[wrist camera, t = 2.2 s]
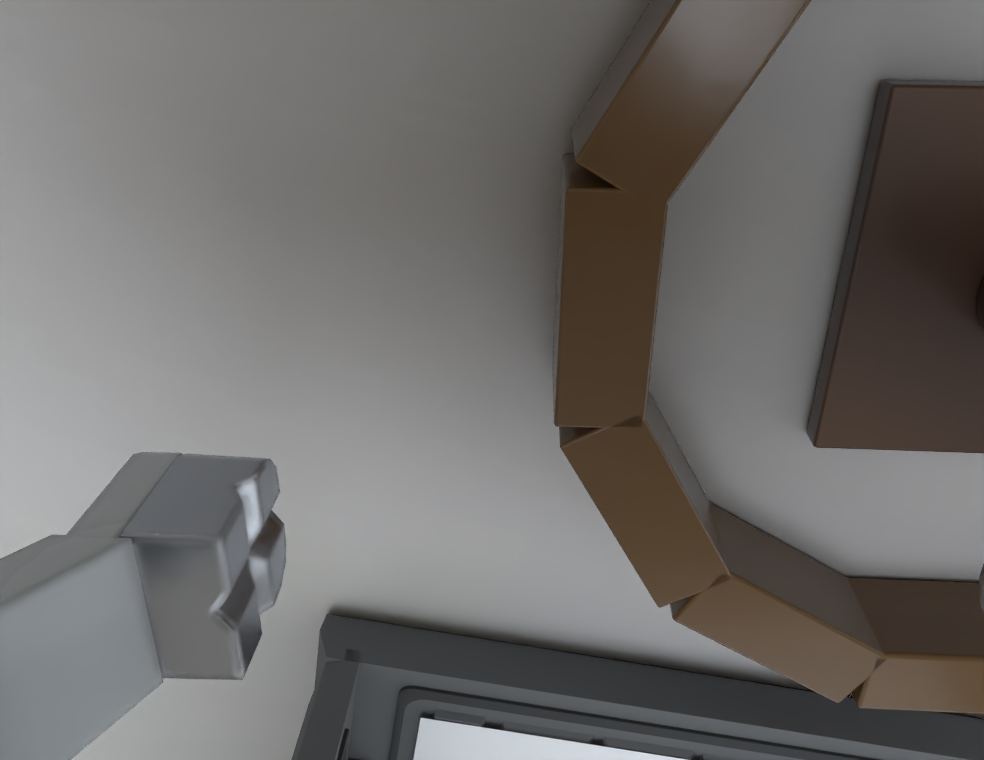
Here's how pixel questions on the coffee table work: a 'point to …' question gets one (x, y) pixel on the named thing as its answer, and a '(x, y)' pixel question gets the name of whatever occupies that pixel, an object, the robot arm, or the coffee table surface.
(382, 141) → the coffee table surface
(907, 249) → the stand
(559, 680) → the laptop
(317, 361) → the coffee table surface
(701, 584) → the hoop
